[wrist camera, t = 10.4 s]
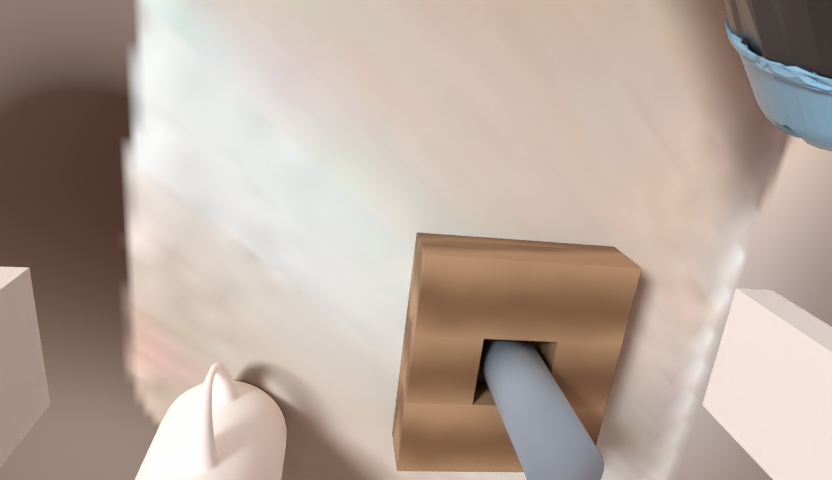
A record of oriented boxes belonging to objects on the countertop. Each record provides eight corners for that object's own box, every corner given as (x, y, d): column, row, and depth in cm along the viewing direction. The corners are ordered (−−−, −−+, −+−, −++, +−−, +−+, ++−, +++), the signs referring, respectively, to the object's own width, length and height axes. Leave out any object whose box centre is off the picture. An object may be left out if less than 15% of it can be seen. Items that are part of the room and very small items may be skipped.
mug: (292, 334, 40) (276, 435, 30) (285, 475, 44) (269, 606, 34) (161, 328, 39) (98, 432, 29) (166, 474, 43) (112, 611, 32)
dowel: (480, 325, 40) (536, 441, 29) (536, 327, 41) (611, 441, 30) (472, 374, 41) (522, 503, 30) (526, 376, 42) (594, 503, 31)
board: (416, 232, 38) (425, 254, 35) (614, 246, 41) (641, 268, 37) (392, 433, 44) (397, 470, 40) (568, 436, 46) (588, 472, 42)
